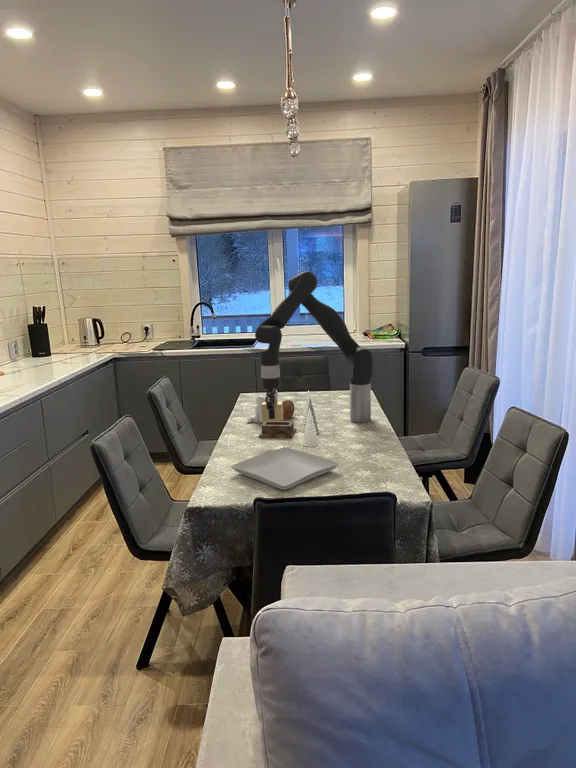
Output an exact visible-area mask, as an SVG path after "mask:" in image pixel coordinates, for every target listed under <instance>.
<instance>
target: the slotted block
mask: <svg viewBox="0 0 576 768" xmlns="http://www.w3.org/2000/svg"><path fill="white" fill-rule="evenodd" d="M296 432H297V427H295V426H294V421H293V420H292V421H290V420H288V421H287V420H283V421H265V422H264V423H261V432H259V435H258V438H260V439H261V438H263V439H269V438H270V439H277V438H278V439H293V437H294V435H295V434H296Z"/></svg>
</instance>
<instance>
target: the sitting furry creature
mask: <svg viewBox="0 0 576 768" xmlns="http://www.w3.org/2000/svg"><path fill="white" fill-rule="evenodd" d="M265 397H266V396H263V395H258V396H257V397H256V400H255V404H256V406H255V409H254V412H255V414H254V415H251V416H250V417H248V418H247V420H246V421H247V422H248V423H250V424H251V423H260V424H263V423H264V422H265V421H263V420H262V403H266V400H265Z"/></svg>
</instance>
